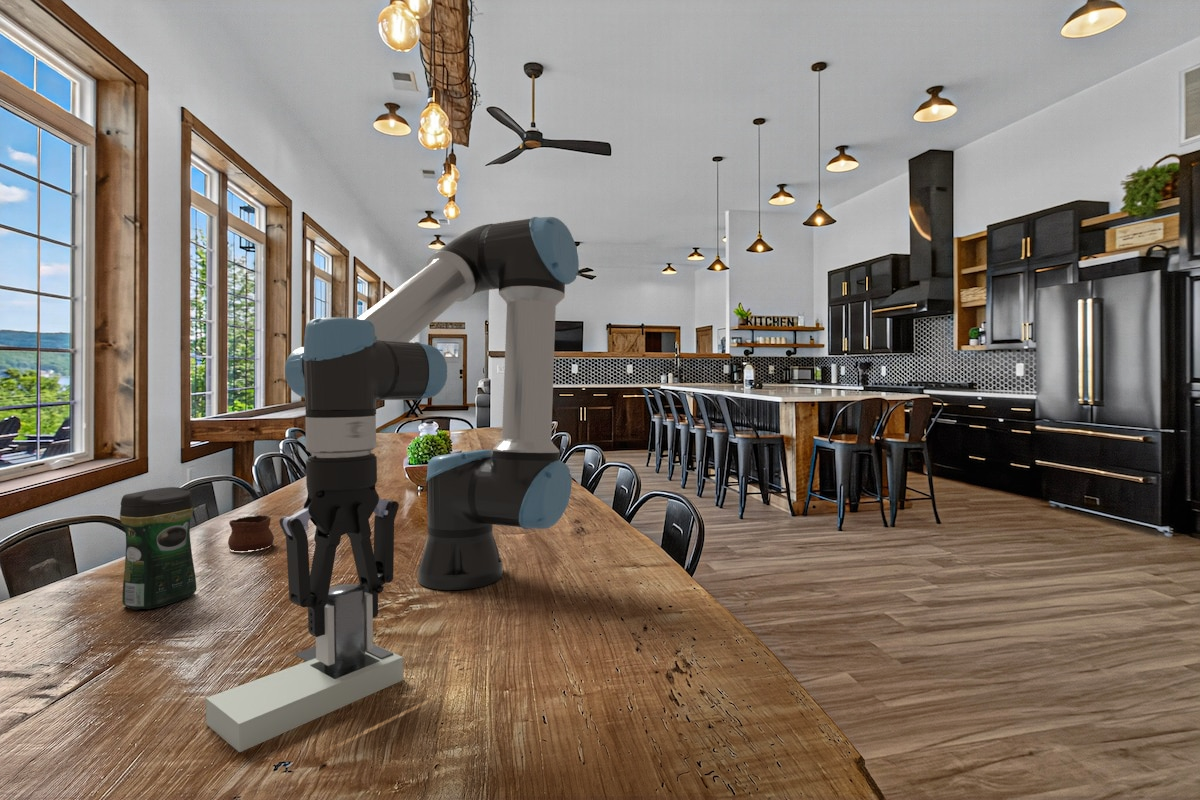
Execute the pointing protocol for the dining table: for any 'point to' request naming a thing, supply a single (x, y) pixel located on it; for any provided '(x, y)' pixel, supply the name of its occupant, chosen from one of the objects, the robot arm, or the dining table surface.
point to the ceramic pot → (250, 533)
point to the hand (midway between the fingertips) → (345, 653)
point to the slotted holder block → (295, 698)
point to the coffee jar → (157, 547)
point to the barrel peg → (347, 629)
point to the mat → (307, 654)
